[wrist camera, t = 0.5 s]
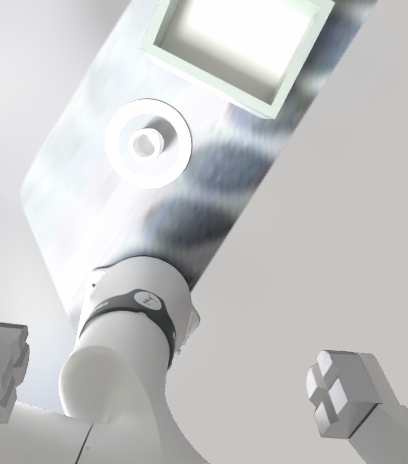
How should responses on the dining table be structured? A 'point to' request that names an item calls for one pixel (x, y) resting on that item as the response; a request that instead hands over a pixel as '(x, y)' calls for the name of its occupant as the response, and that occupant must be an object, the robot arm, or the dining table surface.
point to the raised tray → (237, 46)
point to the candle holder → (147, 142)
